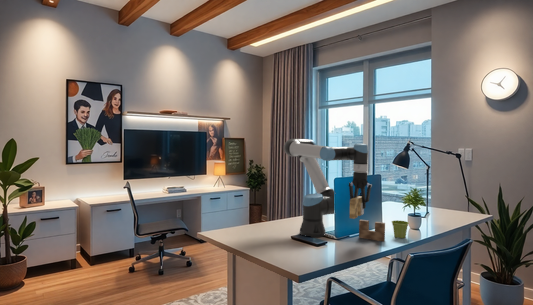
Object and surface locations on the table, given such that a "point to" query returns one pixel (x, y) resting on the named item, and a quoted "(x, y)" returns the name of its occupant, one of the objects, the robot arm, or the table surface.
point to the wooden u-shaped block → (373, 235)
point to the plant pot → (400, 228)
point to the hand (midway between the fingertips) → (359, 213)
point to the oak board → (355, 207)
